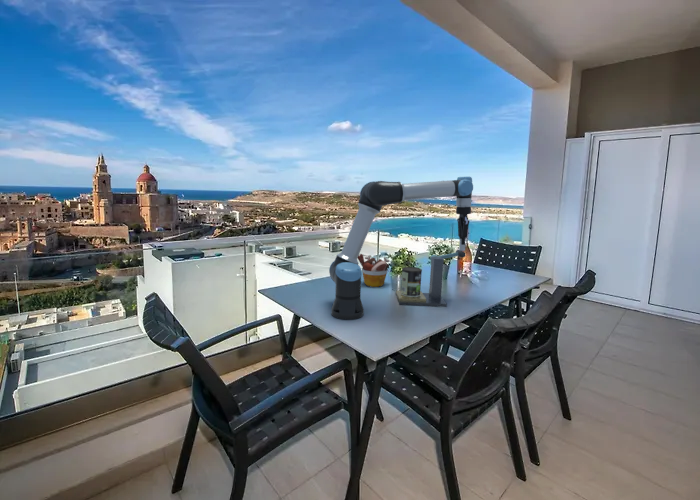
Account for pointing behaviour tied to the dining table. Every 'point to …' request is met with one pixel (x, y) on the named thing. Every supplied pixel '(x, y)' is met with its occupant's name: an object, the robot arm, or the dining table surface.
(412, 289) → the coffee can
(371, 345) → the dining table surface
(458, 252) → the press lever
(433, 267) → the press frame
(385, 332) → the dining table surface
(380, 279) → the bucket of meat
